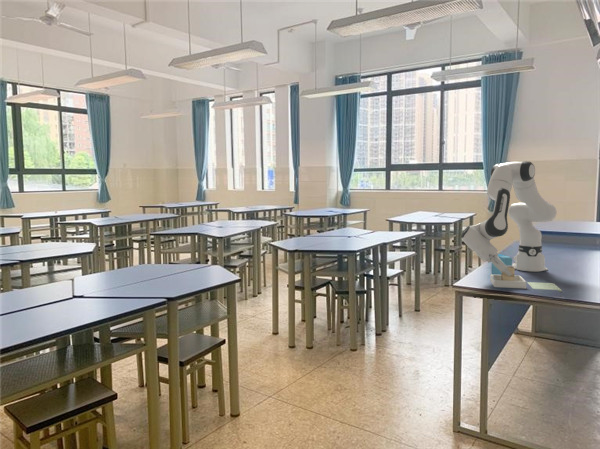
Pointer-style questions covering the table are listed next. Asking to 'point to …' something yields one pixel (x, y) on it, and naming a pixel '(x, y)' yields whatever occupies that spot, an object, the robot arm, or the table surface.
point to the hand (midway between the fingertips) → (509, 273)
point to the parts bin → (508, 282)
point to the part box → (505, 276)
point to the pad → (544, 286)
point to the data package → (505, 260)
